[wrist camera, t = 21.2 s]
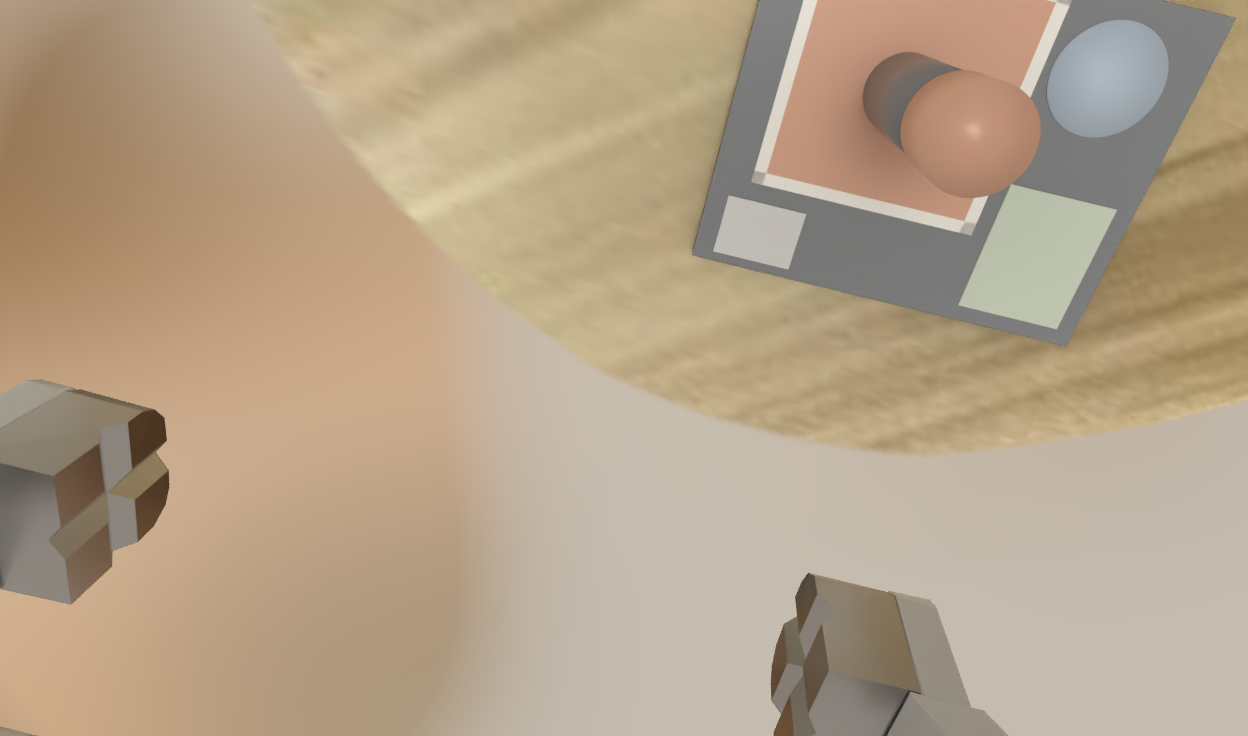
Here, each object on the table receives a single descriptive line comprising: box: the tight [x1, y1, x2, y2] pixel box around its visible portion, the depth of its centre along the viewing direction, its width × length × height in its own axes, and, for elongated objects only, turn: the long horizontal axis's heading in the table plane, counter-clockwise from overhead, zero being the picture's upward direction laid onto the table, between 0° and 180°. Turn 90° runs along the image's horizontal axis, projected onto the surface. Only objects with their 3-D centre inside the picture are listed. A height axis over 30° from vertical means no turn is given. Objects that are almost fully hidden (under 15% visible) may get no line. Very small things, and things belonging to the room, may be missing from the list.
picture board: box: [692, 0, 1236, 346], centre depth 38 cm, size 20×16×1 cm
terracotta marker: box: [863, 52, 1041, 198], centre depth 31 cm, size 4×4×12 cm
